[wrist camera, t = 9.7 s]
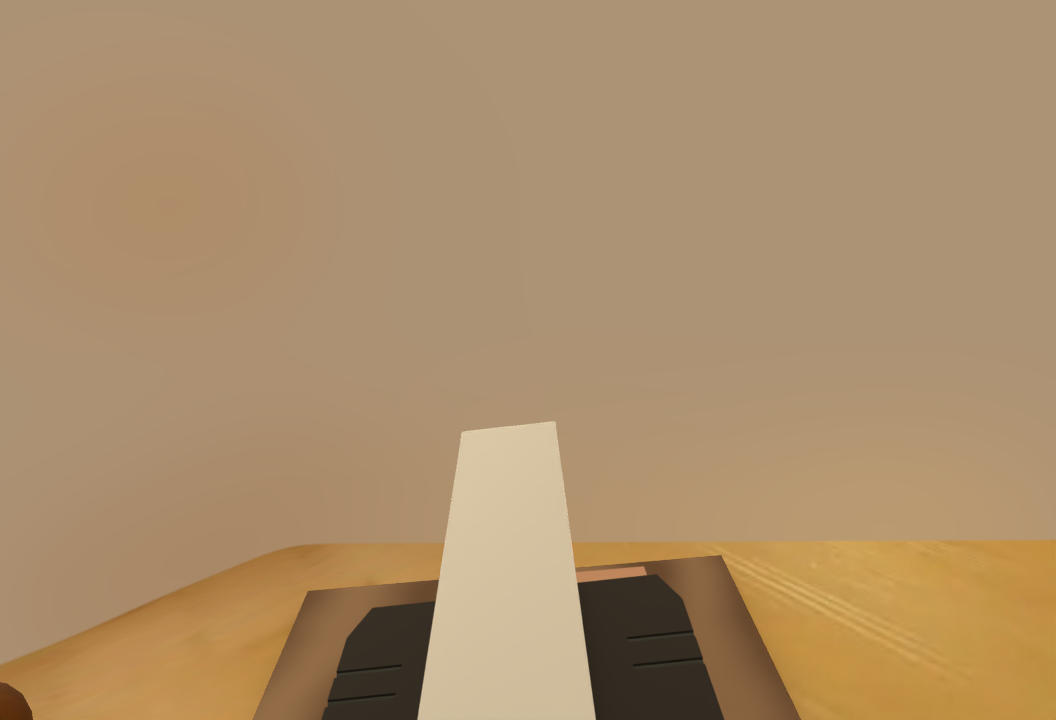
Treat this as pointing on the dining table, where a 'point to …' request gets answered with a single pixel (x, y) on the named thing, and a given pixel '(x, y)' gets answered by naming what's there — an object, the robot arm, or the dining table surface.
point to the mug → (13, 704)
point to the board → (703, 582)
